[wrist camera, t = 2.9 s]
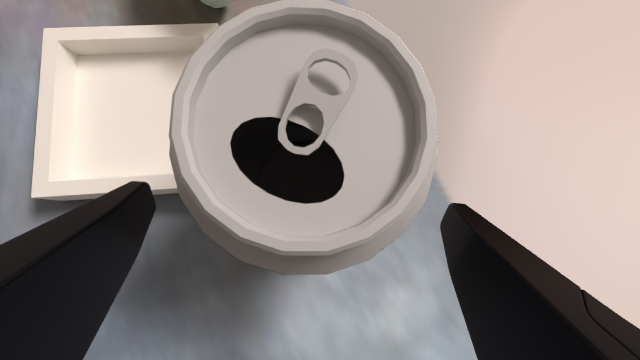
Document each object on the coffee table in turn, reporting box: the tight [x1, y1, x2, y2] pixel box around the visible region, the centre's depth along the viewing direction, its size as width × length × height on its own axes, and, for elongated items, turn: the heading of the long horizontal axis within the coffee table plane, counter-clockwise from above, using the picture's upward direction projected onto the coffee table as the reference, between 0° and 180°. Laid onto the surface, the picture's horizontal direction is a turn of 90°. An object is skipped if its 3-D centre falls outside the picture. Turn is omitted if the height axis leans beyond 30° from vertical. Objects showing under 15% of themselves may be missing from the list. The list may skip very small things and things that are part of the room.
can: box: [169, 0, 438, 275], centre depth 12 cm, size 8×8×12 cm
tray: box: [31, 23, 219, 201], centre depth 17 cm, size 10×10×2 cm
